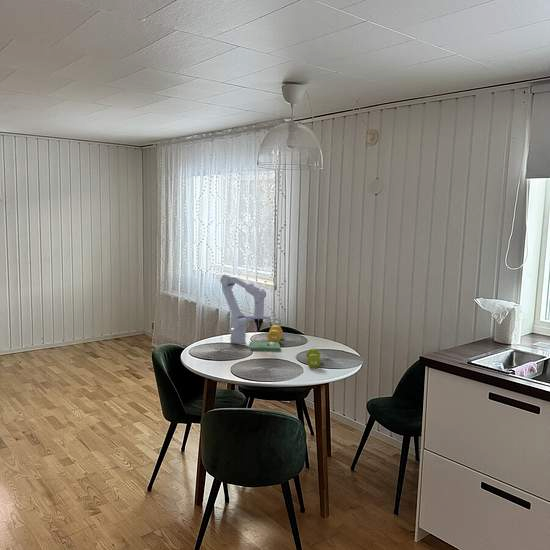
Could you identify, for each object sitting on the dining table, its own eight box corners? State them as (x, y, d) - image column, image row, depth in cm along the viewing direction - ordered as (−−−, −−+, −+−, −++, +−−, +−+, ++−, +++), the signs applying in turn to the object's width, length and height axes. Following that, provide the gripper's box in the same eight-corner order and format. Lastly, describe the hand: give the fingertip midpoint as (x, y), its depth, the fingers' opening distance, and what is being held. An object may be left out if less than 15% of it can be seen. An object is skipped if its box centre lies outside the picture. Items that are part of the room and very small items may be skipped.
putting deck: (250, 350, 303) (250, 347, 303) (249, 345, 317) (249, 341, 316) (280, 351, 305) (280, 348, 304) (278, 345, 319) (278, 342, 318)
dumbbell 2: (269, 336, 342) (269, 324, 341) (282, 337, 341) (283, 325, 341) (266, 343, 323) (267, 330, 322) (280, 344, 323) (281, 331, 322)
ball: (272, 349, 309) (268, 346, 309) (272, 348, 313) (267, 345, 312) (276, 344, 310) (271, 341, 309) (275, 343, 313) (271, 340, 312)
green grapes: (305, 359, 289) (306, 347, 288) (319, 360, 289) (320, 348, 288) (305, 368, 273) (306, 355, 272) (320, 369, 272) (321, 356, 272)
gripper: (247, 310, 308) (246, 332, 310) (271, 310, 309) (270, 332, 311) (247, 308, 315) (246, 329, 316) (270, 308, 316) (269, 330, 318)
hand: (258, 331), depth 314 cm, fingers closed
